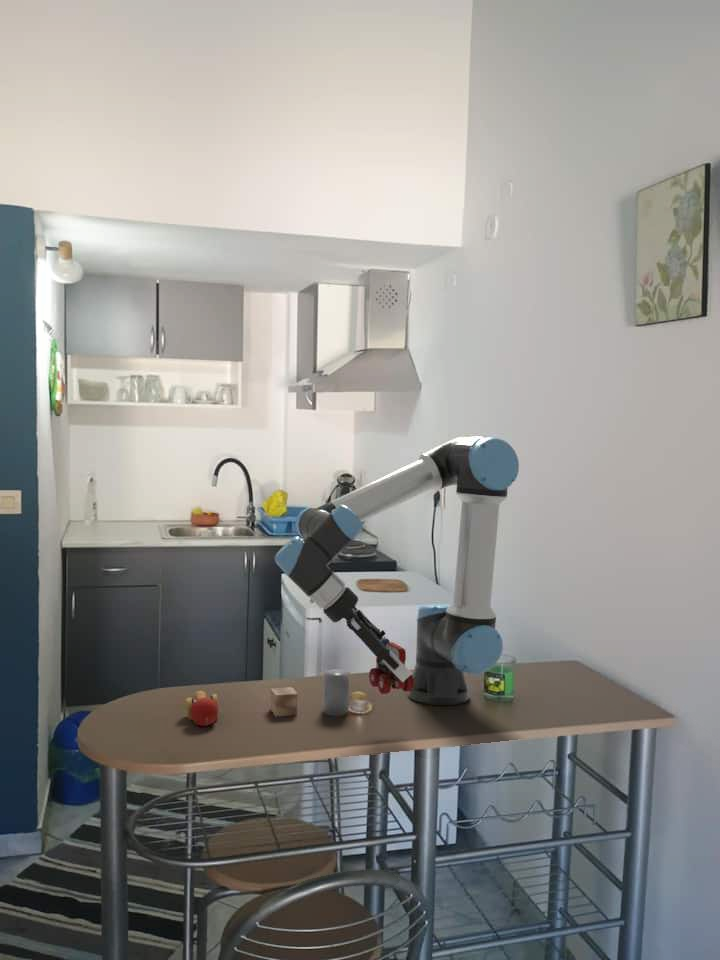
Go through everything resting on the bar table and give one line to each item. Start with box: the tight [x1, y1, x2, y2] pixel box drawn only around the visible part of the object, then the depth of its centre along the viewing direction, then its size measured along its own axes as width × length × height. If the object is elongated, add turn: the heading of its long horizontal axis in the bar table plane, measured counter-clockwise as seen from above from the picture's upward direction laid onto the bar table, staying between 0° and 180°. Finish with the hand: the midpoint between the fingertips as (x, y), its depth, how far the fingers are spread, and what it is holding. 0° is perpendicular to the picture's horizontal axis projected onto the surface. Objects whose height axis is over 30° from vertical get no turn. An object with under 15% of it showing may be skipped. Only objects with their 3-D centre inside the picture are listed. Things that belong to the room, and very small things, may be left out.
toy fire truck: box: [368, 637, 414, 695], centre depth 181 cm, size 7×12×10 cm, turn 21°
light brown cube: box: [269, 686, 298, 718], centre depth 192 cm, size 5×5×5 cm
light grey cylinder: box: [322, 668, 351, 717], centre depth 194 cm, size 6×6×9 cm
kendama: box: [185, 690, 220, 727], centre depth 188 cm, size 8×6×18 cm
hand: (403, 669), depth 181 cm, fingers closed on toy fire truck, 11 cm apart
